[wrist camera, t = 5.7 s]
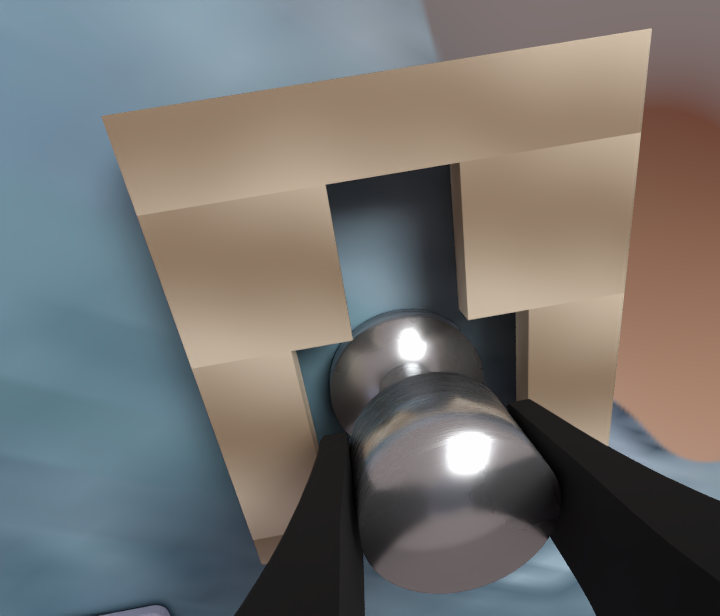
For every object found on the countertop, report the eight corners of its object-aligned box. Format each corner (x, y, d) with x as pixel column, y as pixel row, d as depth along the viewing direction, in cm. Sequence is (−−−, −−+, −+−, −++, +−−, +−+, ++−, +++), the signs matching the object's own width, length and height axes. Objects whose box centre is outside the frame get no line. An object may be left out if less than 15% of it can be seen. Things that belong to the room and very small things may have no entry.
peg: (478, 421, 15) (575, 576, 10) (344, 450, 15) (363, 625, 9) (469, 295, 13) (583, 397, 8) (315, 326, 13) (317, 455, 7)
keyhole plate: (563, 452, 16) (602, 500, 14) (270, 506, 16) (261, 564, 14) (584, 53, 11) (651, 28, 9) (147, 123, 11) (101, 116, 8)
